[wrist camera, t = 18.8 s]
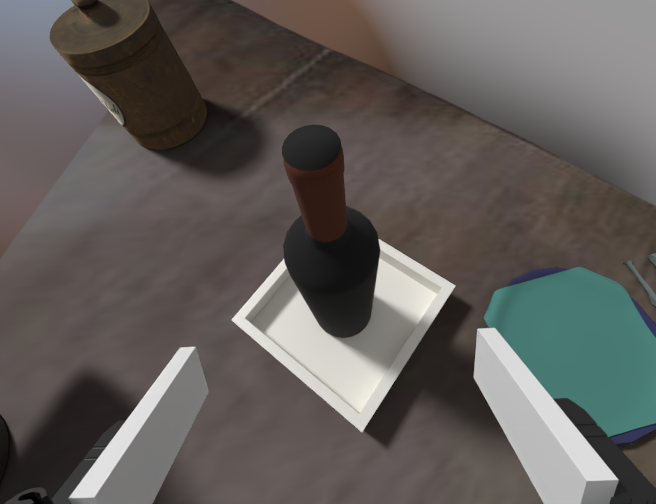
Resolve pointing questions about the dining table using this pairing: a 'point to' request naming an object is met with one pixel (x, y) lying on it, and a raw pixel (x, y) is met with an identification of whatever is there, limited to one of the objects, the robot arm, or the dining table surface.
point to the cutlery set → (584, 344)
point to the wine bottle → (328, 235)
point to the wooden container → (131, 69)
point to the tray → (352, 352)
